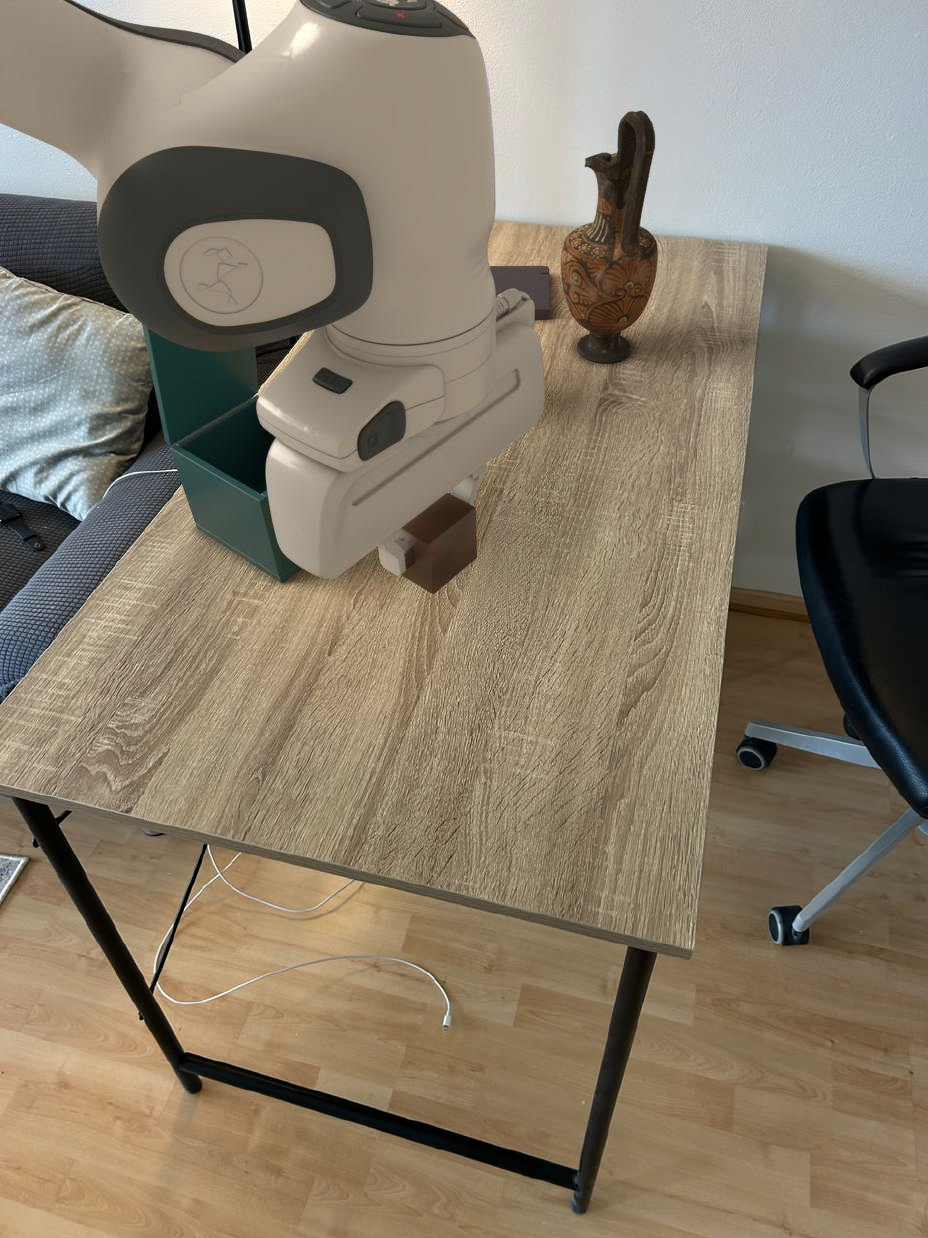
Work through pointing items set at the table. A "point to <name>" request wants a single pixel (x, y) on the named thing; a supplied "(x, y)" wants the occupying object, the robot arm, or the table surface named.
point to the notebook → (525, 284)
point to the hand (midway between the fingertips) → (428, 542)
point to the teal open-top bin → (233, 487)
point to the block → (441, 542)
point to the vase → (613, 246)
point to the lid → (197, 383)
